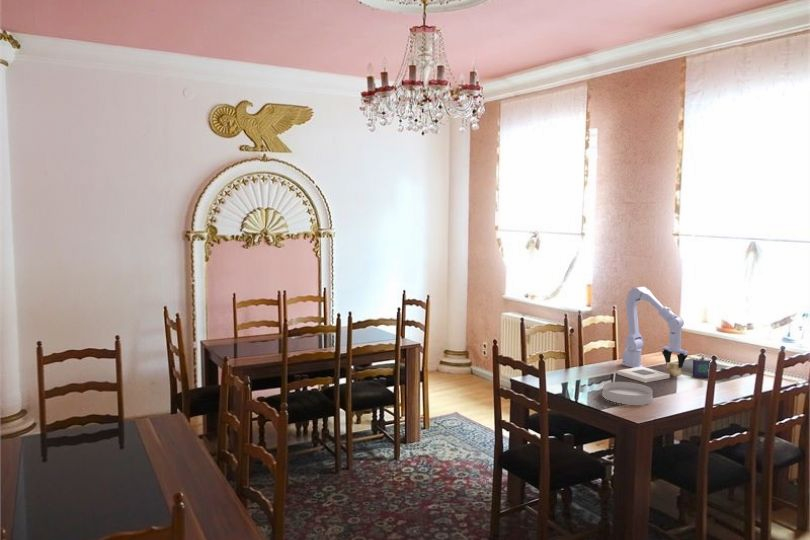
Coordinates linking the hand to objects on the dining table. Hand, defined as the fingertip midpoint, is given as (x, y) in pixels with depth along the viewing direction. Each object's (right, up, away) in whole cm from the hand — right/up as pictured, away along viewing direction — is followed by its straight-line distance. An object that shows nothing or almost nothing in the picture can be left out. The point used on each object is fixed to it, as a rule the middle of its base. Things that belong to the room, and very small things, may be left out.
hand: (674, 366), depth 336 cm
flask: (+13, -5, -4) cm, 14 cm away
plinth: (-17, -5, -3) cm, 18 cm away
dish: (-39, -9, -41) cm, 57 cm away
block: (0, -5, +1) cm, 5 cm away
